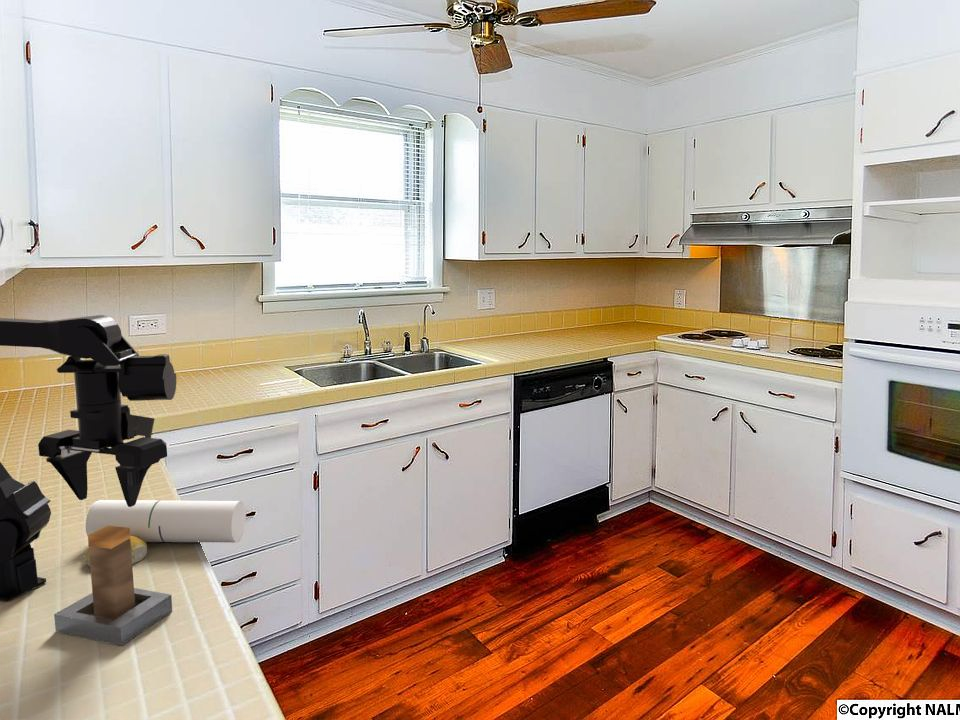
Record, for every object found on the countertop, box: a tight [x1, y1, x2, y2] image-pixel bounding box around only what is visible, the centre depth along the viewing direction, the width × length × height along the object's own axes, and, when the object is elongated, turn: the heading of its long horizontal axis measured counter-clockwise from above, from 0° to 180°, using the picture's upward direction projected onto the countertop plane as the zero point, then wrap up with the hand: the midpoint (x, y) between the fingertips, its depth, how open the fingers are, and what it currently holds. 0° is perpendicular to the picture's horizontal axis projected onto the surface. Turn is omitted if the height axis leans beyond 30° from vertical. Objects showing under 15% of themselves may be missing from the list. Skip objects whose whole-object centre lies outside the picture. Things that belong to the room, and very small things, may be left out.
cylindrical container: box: [85, 499, 247, 543], centre depth 118 cm, size 7×7×25 cm
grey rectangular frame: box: [53, 587, 173, 647], centre depth 92 cm, size 11×9×2 cm
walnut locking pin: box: [87, 526, 135, 620], centre depth 91 cm, size 4×4×13 cm
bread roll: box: [85, 536, 148, 567], centre depth 110 cm, size 8×9×4 cm
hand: (107, 502), depth 100 cm, fingers open, 9 cm apart
